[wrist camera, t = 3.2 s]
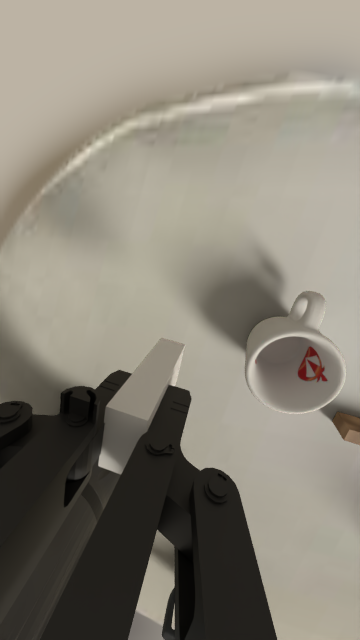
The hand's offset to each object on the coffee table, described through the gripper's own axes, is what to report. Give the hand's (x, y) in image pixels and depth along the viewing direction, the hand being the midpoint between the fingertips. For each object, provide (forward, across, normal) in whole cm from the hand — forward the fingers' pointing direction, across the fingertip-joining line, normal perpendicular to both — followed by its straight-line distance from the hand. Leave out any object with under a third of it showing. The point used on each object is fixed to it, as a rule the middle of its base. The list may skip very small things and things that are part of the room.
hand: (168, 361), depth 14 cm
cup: (+15, +10, 0) cm, 18 cm away
